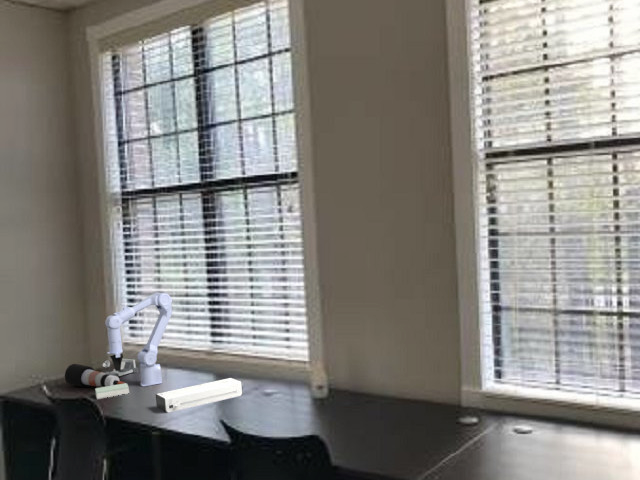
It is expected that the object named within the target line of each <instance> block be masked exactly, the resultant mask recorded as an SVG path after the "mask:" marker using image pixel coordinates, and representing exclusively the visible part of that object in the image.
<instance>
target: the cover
mask: <svg viewBox="0 0 640 480" xmlns="http://www.w3.org/2000/svg"><path fill="white" fill-rule="evenodd" d="M128 388H129V385H128V383H126V382H124V384H118V385H112V386H106V387H96V388H94V390H95V391H96V393H95V395H96V394H99V393H104V392H110V391H116V390H122V389H128ZM129 389H130V388H129ZM95 391H94V392H95Z"/></svg>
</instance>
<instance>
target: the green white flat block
mask: <svg viewBox="0 0 640 480" xmlns="http://www.w3.org/2000/svg"><path fill="white" fill-rule="evenodd" d="M94 392H95V398H96V400H101V399H107V397H108V398H112V397H113V396H114V397H118V395H119V396H123V395H122V394H125V395H129V394H130V388H128V389H122V390H116V391H110V392H104V393H99V394H96V391H94ZM128 393H129V394H128ZM114 397H113V398H114Z"/></svg>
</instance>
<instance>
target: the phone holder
mask: <svg viewBox="0 0 640 480" xmlns="http://www.w3.org/2000/svg"><path fill="white" fill-rule="evenodd" d="M101 365H102V367H104V371H101V372H102V373H105V374H109V375H112V376H117V377H118V378H119V377H122V376H125V375H128V374H131V373H133V374H136V373H135V372H137V373H139V368H138V367H136V365H137V364H136V359H131V358H130V359H128V358H122V361H121V370H120V371H116V370H115V368H114V369H113V370H112V371H111V363H110V360H108V359H107V360H105V361H103V363H102V364H101ZM107 368H108V371H107ZM119 379H120V378H119Z"/></svg>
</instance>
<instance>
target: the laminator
mask: <svg viewBox="0 0 640 480" xmlns="http://www.w3.org/2000/svg"><path fill="white" fill-rule="evenodd" d="M242 383H243V382H242V381H241V380H239V379H235V378H234V377H233V378H232V377H229V378H224V379H218V380H214V381H210V382H209V381H208V382H205V383H200V384H195V385H191V386H187V387H182V388H178V389H172V390H169V391H168V390H167V391H164V392H160V393H155V400H156V401H155V402H156V403H155V404H156V407H157V408H158V409H161V410H163V411H164V412H165V413H167V414H168V413H172V412H176V411H181V410H186V409H190V408H194V407H198V406H202V405H207V404H210V403H211V404H212V403H216V402H220V401H223V400H228V399H229V400H230V399H232V398H238V397H241V396H243V393H244V392H243V384H242Z"/></svg>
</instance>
